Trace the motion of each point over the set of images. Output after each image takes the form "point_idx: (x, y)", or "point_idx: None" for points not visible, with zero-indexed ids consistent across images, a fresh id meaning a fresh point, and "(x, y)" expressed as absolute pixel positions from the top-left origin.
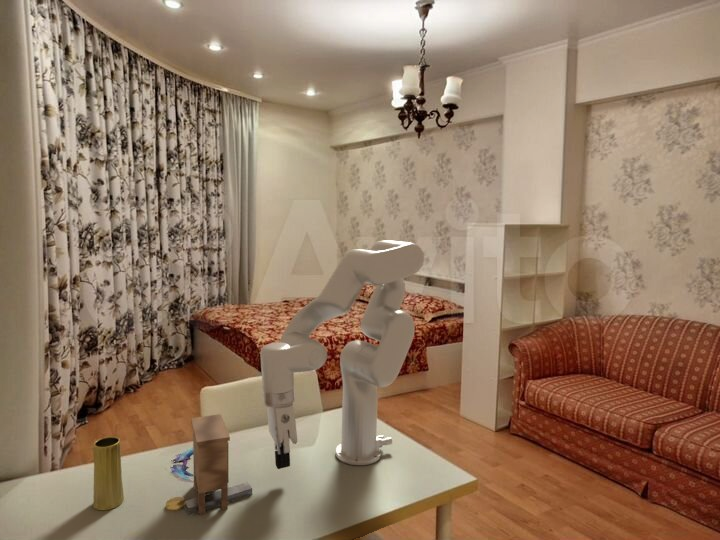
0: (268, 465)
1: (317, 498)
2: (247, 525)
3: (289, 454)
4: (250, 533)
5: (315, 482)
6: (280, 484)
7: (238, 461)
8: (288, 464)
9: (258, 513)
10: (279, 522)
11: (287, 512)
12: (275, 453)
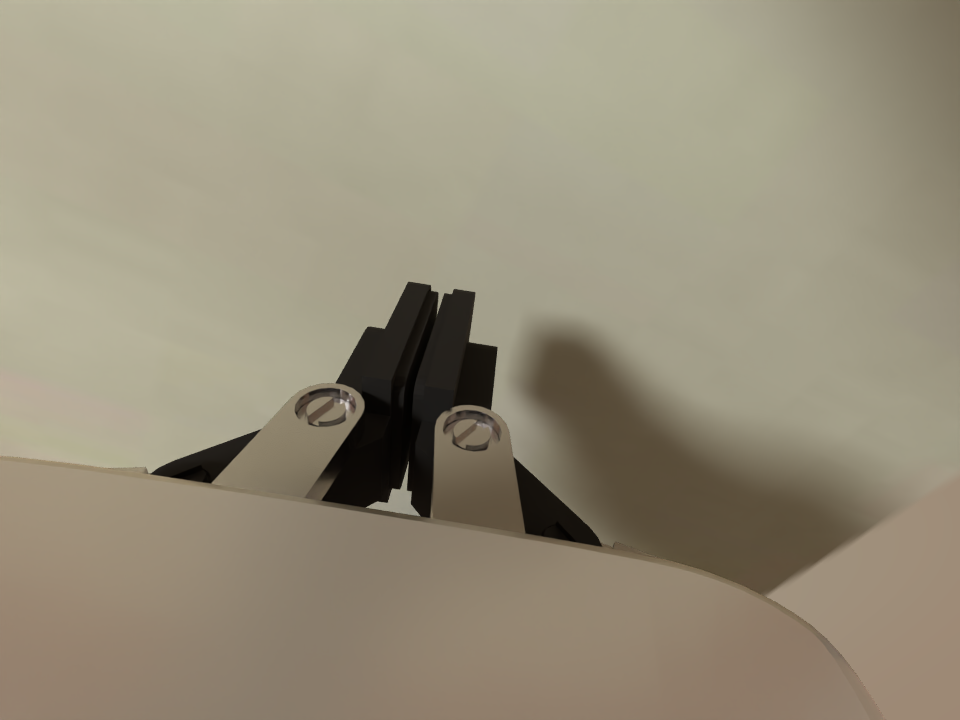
0: (207, 280)
1: (848, 148)
2: (731, 568)
3: (458, 358)
4: (793, 577)
5: (624, 30)
6: (488, 311)
7: (121, 413)
8: (472, 312)
9: (684, 509)
10: (841, 467)
11: (801, 401)
12: (390, 486)
